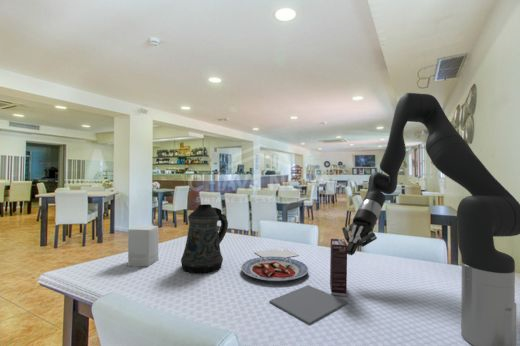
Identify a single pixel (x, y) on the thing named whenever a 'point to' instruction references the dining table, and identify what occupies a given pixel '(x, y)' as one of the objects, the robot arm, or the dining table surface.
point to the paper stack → (275, 253)
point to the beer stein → (204, 240)
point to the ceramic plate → (274, 268)
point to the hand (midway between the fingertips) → (349, 253)
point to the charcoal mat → (308, 303)
